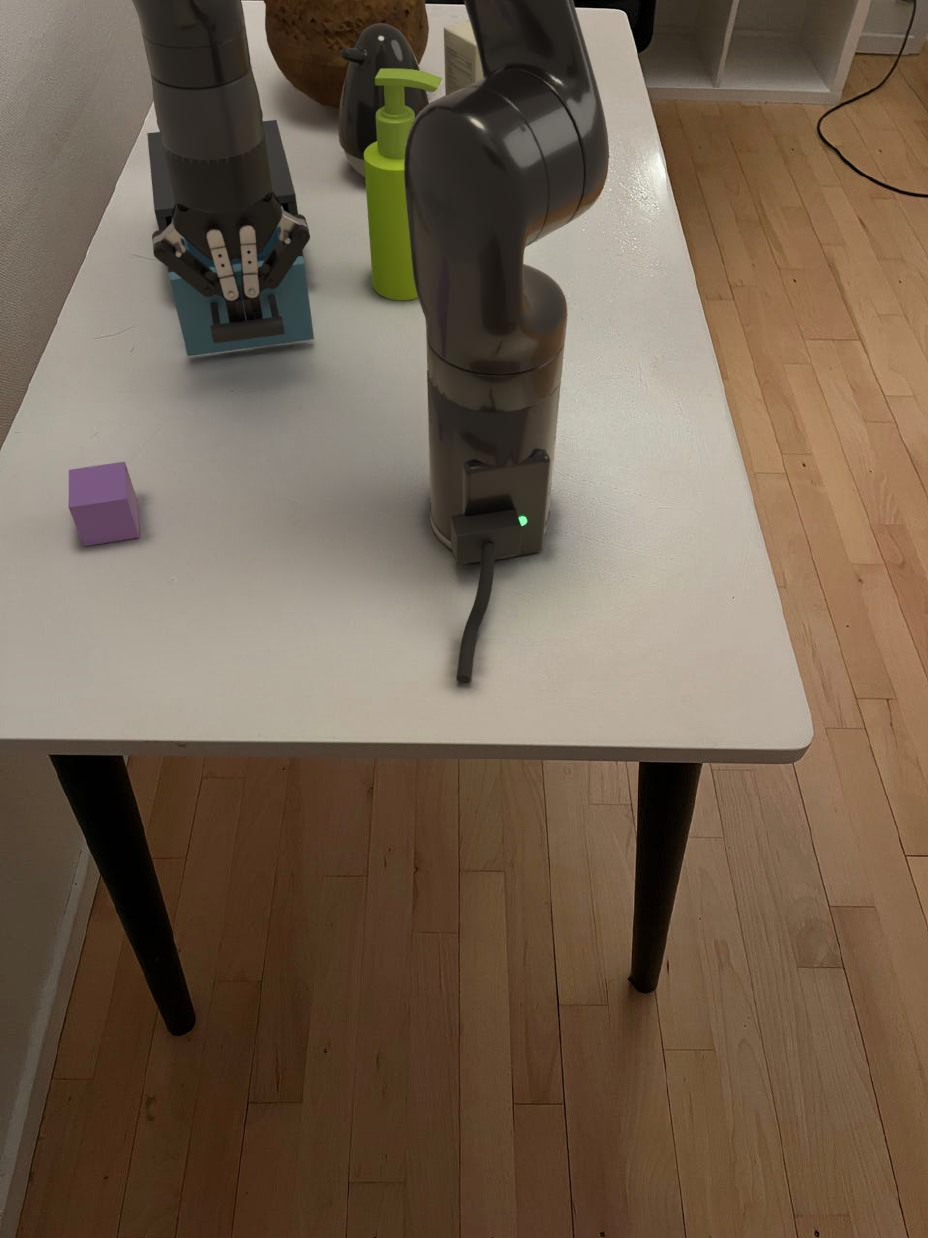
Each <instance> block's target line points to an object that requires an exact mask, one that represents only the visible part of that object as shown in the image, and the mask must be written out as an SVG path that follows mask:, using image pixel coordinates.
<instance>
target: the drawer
mask: <svg viewBox="0 0 928 1238" xmlns="http://www.w3.org/2000/svg"><path fill="white" fill-rule="evenodd" d="M281 208H282V210H283V206H282V204H281ZM171 218H172V216H171ZM172 222H173V218H172ZM278 228H279V225H278V226H277V227H276V229H275V231H274V232H273V234H272V236H271V238H270V239H269V241H268V243H267V244H266V246H265V248H264V249H263V251H262V252H261V253H259V254H258V255H257V264H258V267H260V266H262V264H263V262H264V261H265V259H266V258H267V256H268V254H269V253H270V251H271V250H272V248H273V247H274V245H275V244H276V242H277V241H278V239H279V235H278ZM181 238H182V239H183V240H184V242H185V248H186V250H188V251H189V252H190V253H191V254H192V255H194V256H195V257H196V258H197V259H199V260H200V261H201V262H202V263H203V264H205V265H206V266H207V267H208V268H210V269H211V270H212V272H215V273H217V271H216V267H215V264H214V260H211V259H209V258H207V257H205V256H204V255H203V254H202V253H201V252H199V251H198V250H197V249H196V248H195V247H194V246H193V245H192V244H190V243H189V242H188V241H187V240H186V239H185V238H184V237H181ZM303 258H304V255H303V256H300V257H298V258H297V259H296V261H295V262H294V264H293V265H292V267H291V268H290V270H289V271H288V273H287V274H286V276H285V277H284V279H283V280H282V282H281V283H280V285H279V286H278V287H277V288H275V289H270V288H266V289H264V290H263V291H262V292H261V293H260V296H259V297H260V304H261V310H262V316H263V319H256V320H248V321H247V320H246V321H241V322H233V323H229V318H228V313H227V307H226V302H225V300H224V298H223V297H221V296H219V295H213V296H210V297H206V296H204V295H202V294H201V293H200V292H199V291H197V290H196V289H195V288H193V287H192V286H191V285H190V284H188V283H187V282H186V281H185V280H183V279H182V278H181V277H180V276H178V275H177V274H176V273H174V272H169V271H168V279H169V284H170V289H171V292H172V297H173V301H174V305H175V309H176V313H177V317H178V322H179V327H180V330H181V335H182V338H183V343H184V347H185V351H186V355H187V357H192V356H193V357H194V356H201V355H207V354H214V353H215V354H216V353H222V352H229V351H236V350H238V351H239V350H246V349H254V348H261V347H268V346H276V345H282V344H283V345H284V344H290V343H297V342H305V341H312V340H314V339H315V335H314V327H313V319H312V311H311V304H310V295H309V287H308V280H307V279H308V278H307V272H306V270H307V269H306V264H305V260H304V259H305V258H304V259H303ZM231 261H232V265H233V268H234V272H235V276H236V281H237V285H242V274H241V263H240V259H233V260H231ZM240 291H241V286H240ZM241 296H242V292H241ZM242 302H243V297H242ZM243 307H244V303H243ZM244 313H245V309H244ZM245 318H246V314H245Z"/></svg>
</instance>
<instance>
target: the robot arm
mask: <svg viewBox="0 0 928 1238" xmlns="http://www.w3.org/2000/svg"><path fill="white" fill-rule="evenodd" d="M462 1H463V4H464V7H465V10H466V13H467V16H468V20H470V23H471V26H472V30H473V33H474V37H475V41H476V44H477V48H478V53H479V57H480V61H481V66H482V72H483V79H481V80H479V81H477V82H475V83H472V84H470V85H468V86H466V87H463V88H461V89H459V90H456V91H454V92H452V93H450V94H448V95H446V94H445V95H444V96H441V97H439V98H437V99H435V100H433V101H431V102H429V104H428V105H427V106H426V107H424V108H423V109H422V110H421V111H420V112H419V113H418V114H417V116H416V117H415V119H414V121H413V123H412V125H411V127H410V130H409V133H408V137H407V142H406V147H405V158H404V182H405V196H406V206H407V216H408V226H409V236H410V247H411V258H412V270H413V278H414V284H415V288H416V292H417V295H418V298H417V299H418V301H419V304H420V307H421V310H422V312H423V315H424V319H425V332H426V333H425V334H426V335H425V336H426V337H425V338H426V341H425V342H426V383H427V384H426V385H427V386H426V387H427V419H428V420H427V421H428V422H427V423H428V456H429V457H428V458H429V486H430V504H429V522H430V525H431V528H432V531H433V533H434V534H435V535H436V537H437V538H438V539H439V540H440V542H441V543H442V544H443V545H445V546H446V547H447V548H449V549H450V550H451V551H452V553H453V557H454V560H455V564H456V565H457V566H460V565H465V564H466V565H470V564H471V565H472V564H477V563H479V564H480V567H479V576H478V578H479V579H478V584H477V588H476V589H477V590H476V594H475V599H474V602H473V605H472V608H471V611H470V613H469V615H468V617H467V620H466V623H465V626H464V630H463V634H462V637H461V643H460V648H459V654H458V662H457V663H458V664H457V671H456V677H455V678H456V681H457V682H458V683H460V684H463V685H466V684H470V682H471V681H472V672H473V663H474V655H475V649H476V642H477V638H478V634H479V630H480V628H481V625H482V623H483V620H484V618H485V616H486V612H487V609H488V607H489V603H490V600H491V594H492V589H493V582H494V573H495V562H496V560H502V559H503V560H504V559H509V558H513V557H518V556H523V555H529V554H536V553H540V552H542V551H543V550H544V540H545V539H544V538H545V535H546V533H547V531H548V528H549V525H550V519H551V508H550V504H551V494H552V485H553V484H552V481H553V469H554V460H555V448H556V439H557V427H558V415H559V407H560V406H559V404H560V396H561V395H560V394H561V386H562V385H561V383H562V377H563V376H562V375H563V365H564V354H565V343H566V335H567V325H568V303H567V298H566V295H565V294H564V291H563V289H562V288H561V286H560V285H559V284H558V282H557V281H556V280H554V279H553V278H552V277H551V276H550V275H548V274H547V273H545V272H544V271H542V270H540V269H538V268H536V267H534V266H531V265H528V264H526V263H524V259H525V258H524V257H525V256H524V255H525V250H526V248H527V247H528V246H530V245H532V244H533V243H535V242H537V241H540V240H541V239H543V238H544V237H546V236H548V235H550V234H551V233H553V232H555V231H558V229H560V228H563V227H564V226H566V225H568V224H570V223H571V222H573V221H574V220H576V219H577V218H579V217H581V216H582V215H584V214H585V213H587V211H588V210H590V209H591V208H592V207H593V206H594V205H595V204H596V203H597V201H598V199H600V196H601V194H602V192H603V190H604V188H605V185H606V181H607V178H608V174H609V173H608V172H609V164H610V163H609V162H610V148H609V147H610V146H609V133H608V127H607V122H606V117H605V112H604V107H603V104H602V99H601V95H600V91H599V87H598V83H597V79H596V76H595V72H594V70H593V66H592V62H591V58H590V55H589V51H588V48H587V44H586V41H585V37H584V34H583V31H582V26H581V23H580V20H579V18H578V13H577V10H576V6H575V2H574V0H462ZM131 2H132V3H133V6H134V8H135V10H136V14H137V16H138V17H137V18H138V20H139V25H140V31H141V36H142V40H143V45H144V49H145V54H146V59H147V64H148V67H149V71H150V77H151V87H152V100H153V107H154V112H155V117H156V125H157V128H158V130H159V131H158V132H160V135H161V140H162V144H163V149H164V154H165V158H166V163H167V167H168V172H169V176H170V181H171V186H172V190H173V195H174V199H175V204H174V208H173V210H172V218H173V222H172V223H171V224H170V225H169V226H168V227H167V228H166V229H165V230H164V231H162V230H159V229H157V230H154V231H153V232H152V235H151V238H152V239H151V241H152V251H153V256H154V257H155V259H156V260H158V261H159V262H160V263H162V265H164V266H166V267H167V269H168V268H169V269H171V270H172V271H173V272H174V273H176V274H177V275H178V276H180V277H181V278H182V279H183V280H185V281H186V282H187V283H188V284H190V285H191V286H192V287H193V288H195V289H196V290H197V291H199V292H200V293H201V294H202V295H204V296H206V297H210V296H213V295H219V296H221V297H223V298H224V300H225V302H226V307H227V313H228V318H229V323H233V322H241V321H246V320H247V321H248V320H256V319H263V316H262V310H261V304H260V297H259V296H260V293H261V292H262V291H263V290H264V289H266V288H270V289H275V288H277V287H278V286H279V285H280V283H281V282H282V280H283V279H284V277H285V276H286V274H287V273H288V271H289V270H290V268H291V267H292V265H293V264H294V262H295V261H296V259H297V258H298V256H299V255H300V253H301V252H302V250H304V249H305V247H306V245H307V244H308V243H309V241H310V239H311V233H310V229H309V225H308V222H307V219H306V217H305V215H303V214H301V213H298V214H297V215H294V216H293V215H291V214H289V213H288V212H286V211H284V210H282V208H281V204H280V201H279V199H278V197H277V196H276V195H275V194H274V192H273V189H272V182H271V175H270V168H269V161H268V154H267V147H266V140H265V133H264V126H263V121H264V120H263V118H264V113H263V110H262V106H261V105H262V104H261V99H260V94H259V90H258V86H257V82H256V79H255V76H254V72H253V67H252V62H251V55H250V54H251V53H250V48H249V40H248V35H247V34H248V33H247V28H246V27H247V26H246V20H245V14H244V7H243V2H242V0H131ZM278 225H279V228H278V235H279V239H278V241H277V242H276V244H275V245H274V247H273V248H272V250H271V251H270V253H269V254H268V256H267V258H266V259H265V261H264V262H263V264H262V266H260V267H258V264H257V255H258V254H259V253H261V252H262V251H263V249H264V248H265V246H266V244H267V243H268V241H269V239H270V238H271V236H272V234H273V232H274V231H275V229H276V227H277V226H278ZM181 237H184V238H185V239H186V240H187V241H188V242H189V243H190V244H192V245H193V246H194V247H195V248H196V249H197V250H198V251H199V252H201V253H202V254H203V255H204V256H205V257H207V258H209V259H211V260H214V264H215V267H216V271H217V273H215V272H212V270H211V269H210V268H208V267H207V266H206V265H205V264H203V263H202V262H201V261H200V260H199V259H197V258H196V257H195V256H194V255H192V254H191V253H190V252H189V251H188V250H186V248H185V242H184V240H183V239H182V238H181ZM233 259H240V263H241V274H242V285H237V281H236V276H235V272H234V268H233V265H232V261H231V260H233ZM240 286H241V291H240ZM241 292H242V296H241ZM242 297H243V302H242ZM243 303H244V307H243ZM244 309H245V313H244ZM245 314H246V318H245Z"/></svg>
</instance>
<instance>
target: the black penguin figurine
mask: <svg viewBox="0 0 928 1238" xmlns="http://www.w3.org/2000/svg"><path fill="white" fill-rule="evenodd" d="M341 57H342V59H344V60H348V62H347V66H346V70H345V74H344V79H343V84H342V90H341V96H340V105H339V108H338V122H337V124H338V125H337V126H338V127H337V130H338V134H337V135H338V142H339V145H340V147H341V149H342V150H343V153H344V155H345V157H346V159H347V161H348V163H349V164H350V166H351V167H352V168H353V169H354V171H356V173H357V174H359V175H360V176H362V177H363V178H365V165H364V151H365V150H366V148H367V147H368V146H369V145H371V144H372V143H374V142H377V130H376V112H377V111H378V110H379V109H380V108H382V107H384V106H385V97H384V86H382V85H375V77H376V76H377V74H378V72H379V70H380V69H412V70H418V71H421V68H420V64H419V65H418V63H417V60H416V58H415V55H414V53H413V51H412V49H411V47H410V45H409V43H408V41H407V40H406V38H405V37H404V35H403V34H402V33H401V32H400V31H399V30H398V29H397V28H396V27H394V26H392V25H390V24H386V23H375V24H372V25H370V26H368V27H366V28H365V29H364V30H363V31H362V32H361V33H360V34H359V36H358V37H357V39H356V41H355V43H354V45H353V47H352V48H343V49H342V50H341ZM404 100H405V106H407V107H409V108H411V109H412V110H413V111H414V113H415V117H416V116H417V114H418V113H419V112H420V111H421V110H422V109H423V108H424V107H426V106H427V105H428V104H430V101H429V96H428V91H427V90H424V89H420V88H415V87H404Z"/></svg>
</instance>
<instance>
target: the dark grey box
mask: <svg viewBox="0 0 928 1238" xmlns="http://www.w3.org/2000/svg"><path fill="white" fill-rule="evenodd" d="M263 126H264V133H265V140H266V147H267V154H268V161H269V168H270V175H271V182H272V189H273V192H274V194H275V195H276V196H277V197H278V199H279V201H280V204H282V206H283V210H284V211H286V212H288V213H289V214H291V215H293V216H294V215H297V214H299V211H298V204H297V203H298V202H297V195H296V192H295V187H294V183H293V180H292V175H291V170H290V168H289V163H288V159H287V156H286V152H285V149H284V143H283V139H282V137H281V131H280V128H279V123H278V120H276V119H271V120H263ZM146 135H147V145H148V156H149V167H150V176H151V178H150V179H151V190H152V200H153V211H154V215H155V219H156V223H157V228H158V230H162V231H164V230H165V229H166V228H167V227H168V226H169V225H170V224H171V223H172V218H171V216H172V210H173V208H174V204H175V199H174V195H173V190H172V186H171V181H170V176H169V172H168V167H167V163H166V158H165V154H164V149H163V144H162V140H161V135H160V131H155V132H154V131H153V132H147V134H146ZM303 250H304V249H303ZM303 250H302V252H301V253H300V255H299V256H298V257H300V256H303V259H305V258H304V251H303ZM167 270H168V273H169V272H173V271H172V270H171V269H169V268H168V267H167Z"/></svg>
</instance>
